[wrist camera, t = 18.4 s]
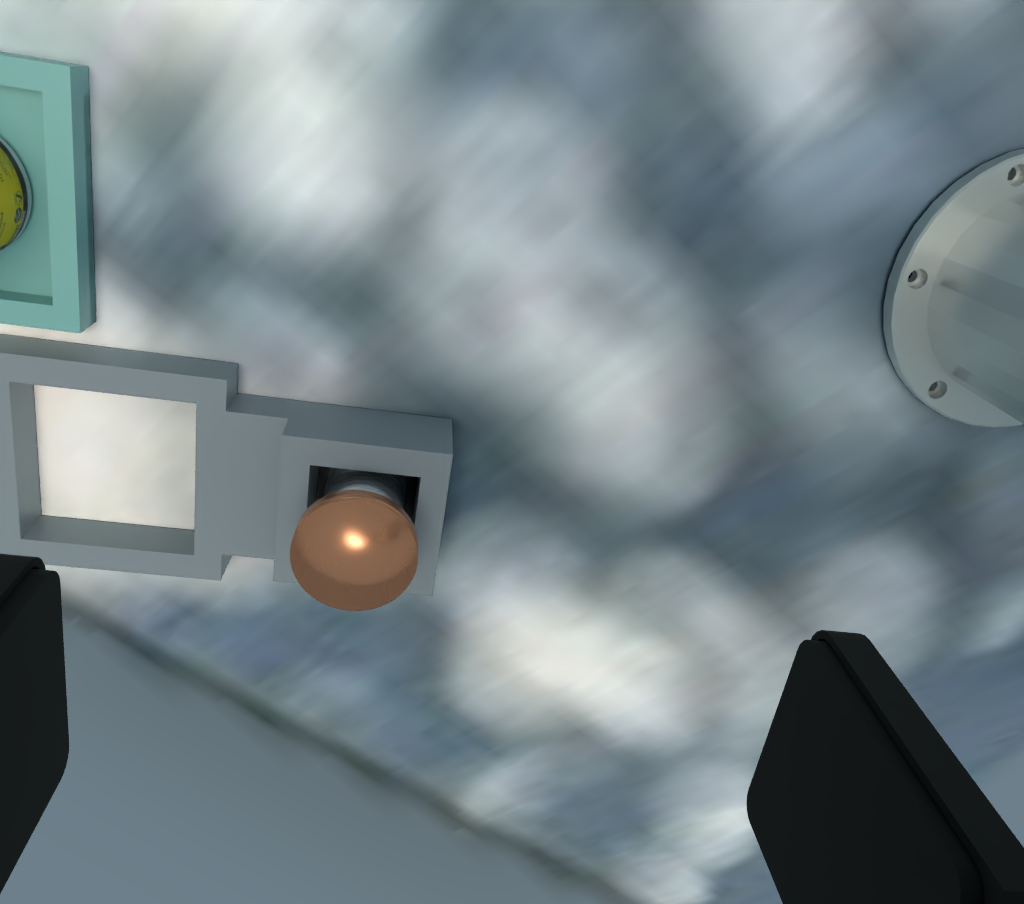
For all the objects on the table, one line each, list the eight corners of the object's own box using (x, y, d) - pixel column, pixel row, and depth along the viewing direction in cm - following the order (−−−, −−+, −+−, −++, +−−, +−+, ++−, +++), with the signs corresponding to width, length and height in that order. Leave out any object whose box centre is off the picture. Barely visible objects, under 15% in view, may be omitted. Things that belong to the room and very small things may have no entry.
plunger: (427, 437, 40) (424, 508, 34) (415, 532, 42) (410, 616, 36) (317, 424, 39) (293, 494, 33) (309, 521, 41) (286, 605, 35)
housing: (455, 390, 39) (457, 423, 36) (429, 574, 43) (428, 622, 40) (0, 334, 37) (-48, 363, 33) (15, 535, 41) (-26, 581, 37)
